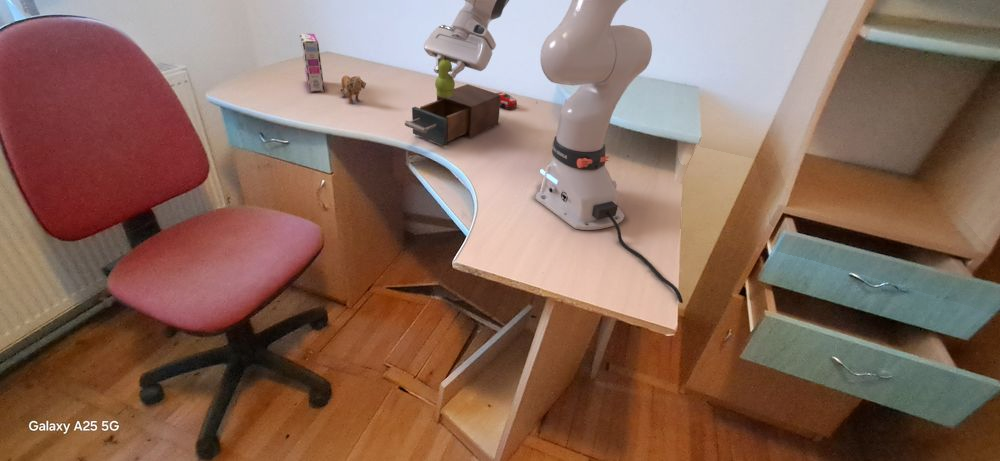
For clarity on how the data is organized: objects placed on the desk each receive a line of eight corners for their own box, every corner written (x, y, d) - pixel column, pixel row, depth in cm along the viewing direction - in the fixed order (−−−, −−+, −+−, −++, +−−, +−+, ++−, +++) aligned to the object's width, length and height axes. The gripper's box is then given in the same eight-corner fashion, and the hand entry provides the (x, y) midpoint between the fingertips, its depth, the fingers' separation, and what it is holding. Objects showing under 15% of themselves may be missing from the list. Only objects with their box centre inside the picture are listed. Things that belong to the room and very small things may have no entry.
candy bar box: (325, 92, 155) (318, 41, 145) (310, 93, 153) (301, 41, 143) (321, 81, 163) (314, 32, 153) (306, 82, 161) (298, 33, 151)
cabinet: (470, 138, 134) (471, 106, 129) (436, 125, 140) (436, 94, 134) (498, 124, 145) (500, 94, 139) (466, 112, 150) (467, 84, 145)
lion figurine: (369, 104, 149) (367, 76, 144) (355, 107, 146) (352, 79, 141) (347, 90, 157) (344, 64, 152) (333, 93, 154) (329, 66, 149)
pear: (458, 95, 128) (459, 56, 122) (445, 99, 124) (446, 59, 118) (443, 89, 130) (444, 51, 124) (431, 94, 127) (430, 54, 120)
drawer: (430, 152, 123) (430, 125, 118) (398, 139, 128) (397, 112, 123) (473, 132, 136) (474, 107, 131) (443, 120, 141) (443, 96, 136)
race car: (479, 101, 160) (479, 89, 158) (488, 97, 164) (489, 86, 161) (509, 111, 154) (510, 100, 152) (518, 107, 158) (519, 96, 155)
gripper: (433, 16, 126) (409, 58, 125) (492, 31, 117) (467, 77, 116) (444, 31, 132) (421, 71, 131) (501, 46, 123) (477, 90, 122)
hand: (443, 74), depth 124 cm, fingers closed on pear, 3 cm apart
